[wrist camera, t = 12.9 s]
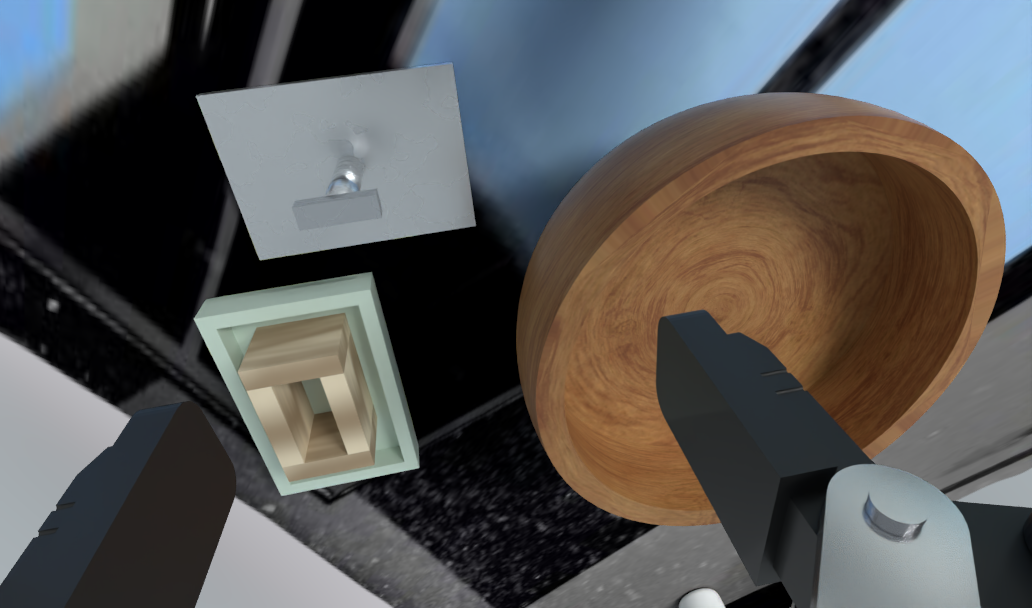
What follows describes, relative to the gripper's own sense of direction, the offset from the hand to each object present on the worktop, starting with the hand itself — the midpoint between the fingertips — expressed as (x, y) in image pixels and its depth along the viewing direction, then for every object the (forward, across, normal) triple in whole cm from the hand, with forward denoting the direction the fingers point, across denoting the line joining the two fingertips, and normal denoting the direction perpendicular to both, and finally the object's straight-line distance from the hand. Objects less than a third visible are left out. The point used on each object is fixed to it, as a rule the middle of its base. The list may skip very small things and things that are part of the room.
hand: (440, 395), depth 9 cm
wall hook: (+26, +5, +3) cm, 27 cm away
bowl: (+27, -14, +12) cm, 33 cm away
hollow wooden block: (+25, +12, +19) cm, 34 cm away
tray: (+26, +12, +19) cm, 34 cm away
